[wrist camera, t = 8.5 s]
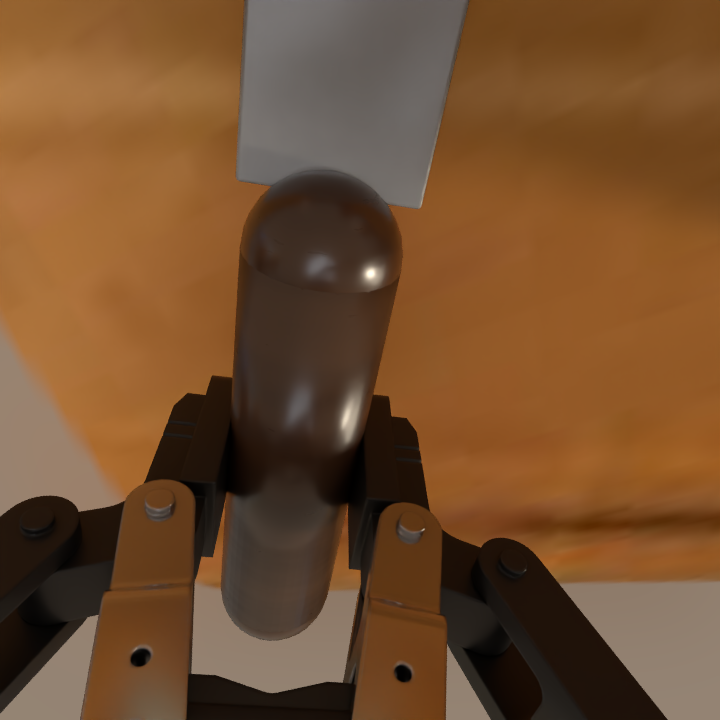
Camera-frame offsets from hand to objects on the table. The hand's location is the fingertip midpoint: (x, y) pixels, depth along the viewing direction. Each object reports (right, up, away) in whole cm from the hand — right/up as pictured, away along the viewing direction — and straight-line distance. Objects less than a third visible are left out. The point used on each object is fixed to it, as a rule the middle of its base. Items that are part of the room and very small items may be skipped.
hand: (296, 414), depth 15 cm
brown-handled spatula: (+1, +3, -2) cm, 3 cm away
